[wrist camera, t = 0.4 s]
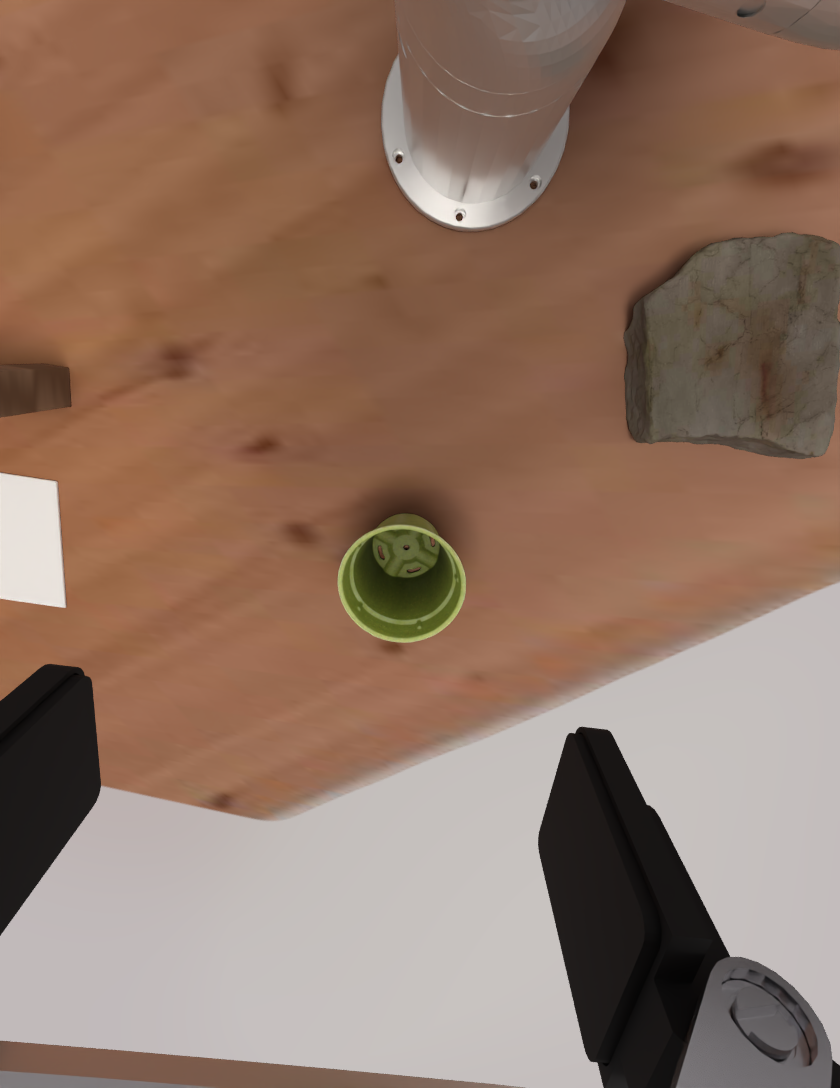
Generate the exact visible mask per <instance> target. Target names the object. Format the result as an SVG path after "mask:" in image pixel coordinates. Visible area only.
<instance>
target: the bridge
mask: <svg viewBox="0 0 840 1088" xmlns="http://www.w3.org/2000/svg"><path fill="white" fill-rule="evenodd" d="M64 407H71V395H70V378H69V368H67V367H60V366H54V365H48V364H13V365H0V417H6V416H13V415H19V414H26V413H32V412H38V411H45V410H51V409H58V408H64Z"/></svg>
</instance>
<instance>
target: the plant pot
mask: <svg viewBox="0 0 840 1088" xmlns="http://www.w3.org/2000/svg"><path fill="white" fill-rule="evenodd" d="M429 536H430V537H432V538H434V540H435V546H434V547H432V546H431V541H430V537H429ZM405 545H408V546H409V549H408V550H404V548H403V547H404V546H405ZM378 546H381V547H382V552H383V555H384V557H385V559H384V560H383V559H381V558H380V556H379V552H378ZM418 567H421V569H420V570H419V571H416V572H413V573H409V572H407V570H409V569H415V568H418ZM338 590H339V595H340V599H341V601H342V604H343V606H344V608H345V610H346V611H347V613H348V615H349V616H350V617H351V618H352V619H353V621H354V622H355V623H356V624H357V625H358V626H360V627H361V628H362V629H363V630H365V631H367V632H368V633H370V634H371V635H373V636H375V637H378V638H381V639H384V640H387V641H393V642H415V641H419V640H423V639H426V638H429V637H431V636H433V635H435V634H437V633H438V632H440V631H441V630H443V629H444V628H445V627H447V626H448V625H449V624H450V623H451V622H452V620H453V619H454V618H455V617H456V615H457V614H458V612H459V610H460V608H461V606H462V604H463V601H464V598H465V592H466V578H465V572H464V569H463V566H462V563H461V561H460V559H459V557H458V555H457V554H456V552H455V551H454V550H453V548H452V547H451V546H450V545H449V544H448V543H447V542H446V541H445V540H444V539H442V538H441V537H440V536H439V535H438V533H437V531H436V529H435V528H434V526H433V525H432V524H431V523H430V522H428V521H427V520H425V519H424V518H422V517H420V516H417V515H415V514H409V513H402V514H397V515H394V516H391V517H389V518H387V519H386V520H384V521H383V522H382V523H381V524H380V525H379V526H378V527H377V528H376V529H374V530H372V531H370V532H368V533H366V534H365V535H363V536H362V537H360V538H359V539H358V540H357V541H356V542H354V544H353V545H352V546H351V547H350V548H349V549H348V551H347V552H346V554H345V556H344V558H343V560H342V562H341V565H340V568H339V572H338Z"/></svg>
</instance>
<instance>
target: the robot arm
mask: <svg viewBox="0 0 840 1088" xmlns="http://www.w3.org/2000/svg"><path fill="white" fill-rule="evenodd" d="M663 1H666V2H669V3H673V4H676V5H679V6H682V7H685V8H688V9H691V10H694V11H697V12H700V13H703V14H706V15H709V16H713V17H716V18H719V19H722V20H725V21H728V22H731V23H734V24H737V25H740V26H743V27H746V28H750V29H753V30H756V31H759V32H762V33H765V34H768V35H772V36H775V37H779V38H782V39H785V40H788V41H792V42H795V43H800V44H804V45H809V46H813V47H818V48H823V49H831V50H840V0H663ZM625 3H626V0H395V13H396V26H397V39H398V52H399V53H398V55H397V57H396V58H395V60H394V62H393V65H392V67H391V70H390V73H389V75H388V78H387V81H386V85H385V90H384V95H383V100H382V114H381V129H382V138H383V145H384V150H385V154H386V159H387V162H388V165H389V167H390V170H391V173H392V175H393V178H394V180H395V182H396V183H397V185H398V187H399V188H400V190H401V192H402V193H403V195H404V196H405V197H406V199H407V200H408V201H409V202H410V203H411V204H412V205H413V207H414V208H415V209H416V210H417V211H419V212H420V213H421V214H423V215H424V216H425V217H426V218H428V219H429V220H431V221H433V222H435V223H437V224H439V225H441V226H443V227H445V228H449V229H454V230H458V231H468V232H479V231H484V230H489V229H494V228H496V227H499V226H501V225H503V224H506V223H508V222H510V221H512V220H513V219H515V218H516V217H518V216H519V215H521V214H522V213H524V212H525V211H526V210H527V209H528V208H529V207H530V206H531V205H532V204H533V203H534V202H535V201H536V200H537V199H538V198H539V197H540V195H541V194H542V193H543V191H544V190H545V189H546V187H547V186H548V184H549V182H550V180H551V179H552V177H553V175H554V174H555V172H556V170H557V168H558V165H559V163H560V160H561V157H562V155H563V152H564V149H565V144H566V140H567V135H568V130H569V114H570V103H571V102H572V100H573V98H574V97H575V95H576V93H577V92H578V90H579V88H580V87H581V85H582V83H583V82H584V80H585V78H586V77H587V75H588V73H589V72H590V70H591V68H592V66H593V65H594V63H595V61H596V60H597V58H598V56H599V54H600V53H601V51H602V49H603V48H604V46H605V44H606V42H607V41H608V39H609V37H610V36H611V34H612V32H613V30H614V28H615V26H616V24H617V22H618V19H619V17H620V15H621V12H622V10H623V7H624V5H625ZM397 157H402V159H403V161H402V162H401V163H399V164H398V163H396V161H395V160H396V158H397ZM531 182H534V183H535V184H536V189H531V187H530V183H531ZM458 214H460V215H462V217H463V219H462V220H461V221H457V220H456V215H458ZM100 788H101V779H100V768H99V756H98V745H97V734H96V722H95V711H94V700H93V688H92V681H91V679H90V677H88V676H85V675H84V672H83V670H82V669H81V668H79V667H71V666H63V665H54V664H47V665H44V666H43V667H41V668H40V669H38V670H37V671H36V672H35V673H34V674H32V675H31V676H30V677H29V678H28V679H26V680H25V681H24V682H23V683H22V684H20V685H19V686H18V687H17V688H16V689H14V690H13V691H12V692H11V693H10V694H8V695H7V696H6V697H5V698H4V699H2V700H1V701H0V935H1V934H2V932H3V931H4V930H5V928H6V927H7V926H8V924H9V923H10V921H11V920H12V919H13V917H14V916H15V914H16V913H17V912H18V910H19V909H20V907H21V906H22V905H23V903H24V902H25V900H26V899H27V898H28V896H29V895H30V893H31V892H32V890H33V889H34V888H35V886H36V885H37V884H38V882H39V881H40V880H41V878H42V877H43V875H44V874H45V873H46V871H47V870H48V869H49V867H50V866H51V864H52V863H53V862H54V860H55V859H56V857H57V856H58V855H59V853H60V852H61V850H62V849H63V848H64V846H65V845H66V843H67V842H68V841H69V839H70V838H71V837H72V835H73V834H74V832H75V831H76V830H77V828H78V827H79V825H80V824H81V823H82V821H83V820H84V818H85V817H86V816H87V814H88V813H89V811H90V810H91V809H92V807H93V806H94V804H95V803H96V801H97V798H98V796H99V793H100ZM538 847H539V854H540V859H541V863H542V867H543V871H544V875H545V880H546V884H547V889H548V893H549V898H550V902H551V906H552V911H553V915H554V919H555V923H556V928H557V932H558V936H559V940H560V945H561V949H562V954H563V958H564V962H565V967H566V971H567V975H568V980H569V984H570V988H571V992H572V997H573V1001H574V1006H575V1010H576V1014H577V1018H578V1022H579V1027H580V1031H581V1036H582V1040H583V1044H584V1048H585V1052H586V1054H587V1056H588V1059H589V1060H590V1061H591V1062H598V1066H599V1070H600V1075H601V1079H602V1083H603V1087H604V1088H840V1065H838V1064H837V1063H836V1062H835V1061H833V1060H832V1053H831V1045H830V1042H829V1039H828V1037H827V1035H826V1032H825V1030H824V1027H823V1025H822V1023H821V1021H820V1020H819V1018H818V1017H817V1015H816V1014H815V1012H814V1011H813V1009H812V1008H811V1007H810V1005H809V1004H808V1002H807V1001H806V1000H805V999H804V998H803V997H802V996H801V995H800V994H799V992H798V991H797V990H796V989H795V988H794V987H793V986H792V985H791V984H789V983H788V982H787V981H786V980H784V979H783V978H782V977H781V976H779V975H778V974H777V973H776V972H774V971H772V970H770V969H769V968H767V967H765V966H764V965H762V964H760V963H758V962H755V961H752V960H749V959H746V958H742V957H730V955H729V953H728V951H727V949H726V947H725V946H724V944H723V942H722V940H721V938H720V936H719V934H718V932H717V930H716V928H715V926H714V924H713V922H712V920H711V918H710V916H709V914H708V912H707V910H706V908H705V906H704V904H703V902H702V900H701V898H700V896H699V894H698V892H697V890H696V889H695V886H694V884H693V882H692V880H691V878H690V877H689V874H688V872H687V871H686V868H685V866H684V865H683V862H682V861H681V859H680V857H679V855H678V853H677V851H676V849H675V847H674V845H673V843H672V841H671V839H670V837H669V835H668V833H667V831H666V829H665V827H664V825H663V823H662V821H661V819H660V817H659V816H658V814H657V813H656V811H655V810H654V809H653V808H652V807H651V806H649V805H646V802H645V800H644V798H643V796H642V794H641V792H640V790H639V788H638V786H637V784H636V782H635V780H634V778H633V776H632V774H631V772H630V770H629V768H628V766H627V764H626V762H625V760H624V758H623V756H622V754H621V752H620V750H619V747H618V746H617V744H616V742H615V739H614V737H613V735H612V734H611V732H610V731H608V730H604V729H596V728H587V727H579V728H578V729H577V731H576V733H575V734H574V733H569V734H568V736H567V738H566V741H565V744H564V748H563V751H562V755H561V758H560V762H559V765H558V768H557V772H556V776H555V779H554V782H553V786H552V789H551V793H550V797H549V800H548V803H547V807H546V810H545V814H544V817H543V821H542V824H541V827H540V831H539V837H538ZM0 1088H523V1087H514V1086H505V1085H496V1084H485V1083H474V1082H464V1081H453V1080H443V1079H432V1078H422V1077H410V1076H401V1075H390V1074H378V1073H368V1072H357V1071H347V1070H337V1069H326V1068H315V1067H302V1066H292V1065H280V1064H269V1063H258V1062H247V1061H234V1060H224V1059H212V1058H201V1057H190V1056H178V1055H166V1054H155V1053H143V1052H132V1051H120V1050H108V1049H96V1048H83V1047H71V1046H59V1045H46V1044H34V1043H21V1042H10V1041H0Z"/></svg>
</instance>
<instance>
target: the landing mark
mask: <svg viewBox="0 0 840 1088" xmlns="http://www.w3.org/2000/svg"><path fill="white" fill-rule="evenodd" d="M0 599H7V600H14V601H21V602H28V603H35V604H42V605H49V606H56V607H63V608H66V592H65V578H64V564H63V550H62V536H61V521H60V507H59V493H58V481H53V480H46V479H40V478H33V477H27V476H21V475H14V474H8V473H1V472H0Z"/></svg>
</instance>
